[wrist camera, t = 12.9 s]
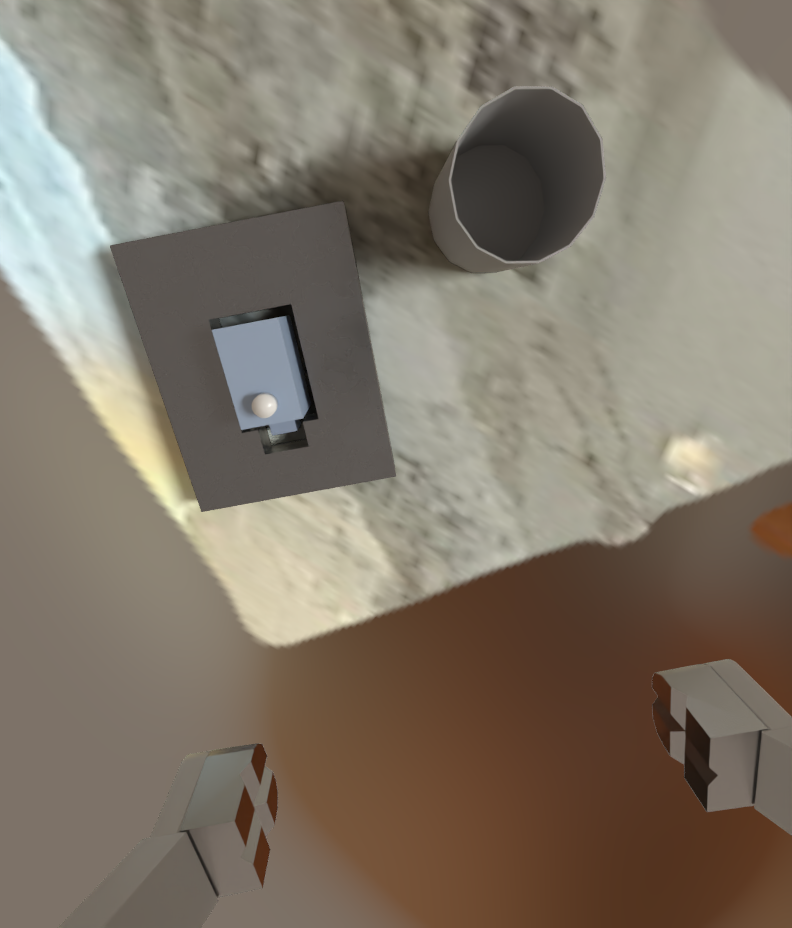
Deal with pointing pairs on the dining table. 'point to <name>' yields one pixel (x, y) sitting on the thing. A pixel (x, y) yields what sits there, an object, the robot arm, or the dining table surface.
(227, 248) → the frame
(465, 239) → the cup
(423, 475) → the dining table surface
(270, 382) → the block
